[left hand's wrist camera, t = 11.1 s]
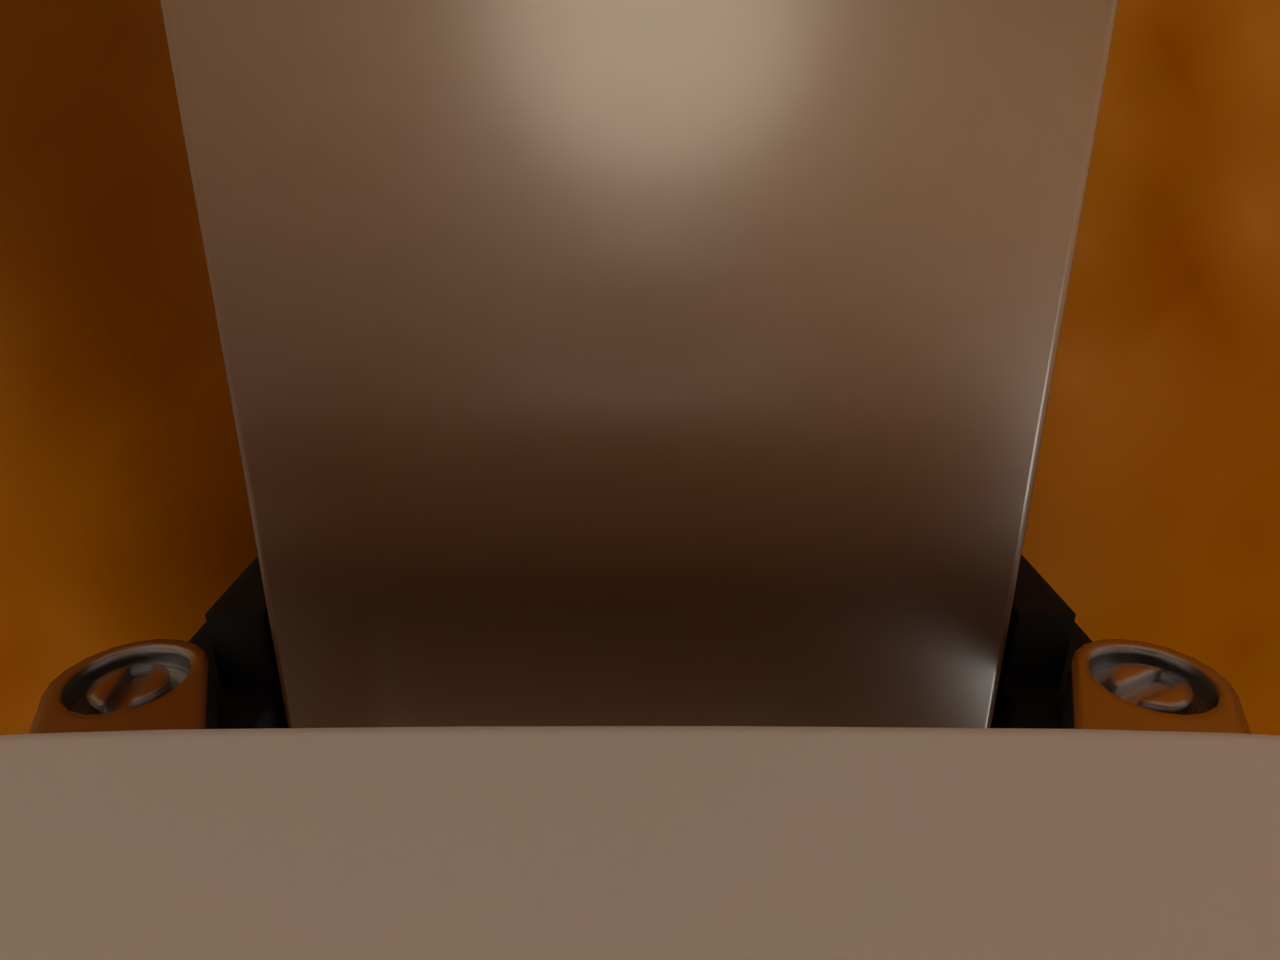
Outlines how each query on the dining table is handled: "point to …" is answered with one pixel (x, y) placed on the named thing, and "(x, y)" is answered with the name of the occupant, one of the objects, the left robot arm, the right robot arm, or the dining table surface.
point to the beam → (639, 344)
